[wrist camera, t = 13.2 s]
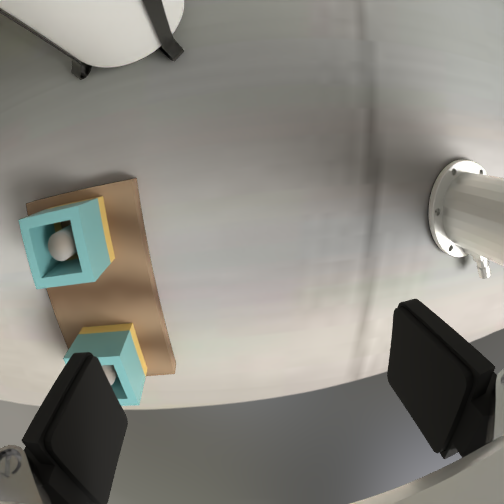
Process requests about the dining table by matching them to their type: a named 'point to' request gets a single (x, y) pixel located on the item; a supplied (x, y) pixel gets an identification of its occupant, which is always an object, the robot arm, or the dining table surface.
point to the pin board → (112, 277)
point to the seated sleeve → (86, 239)
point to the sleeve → (115, 357)
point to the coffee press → (101, 28)
